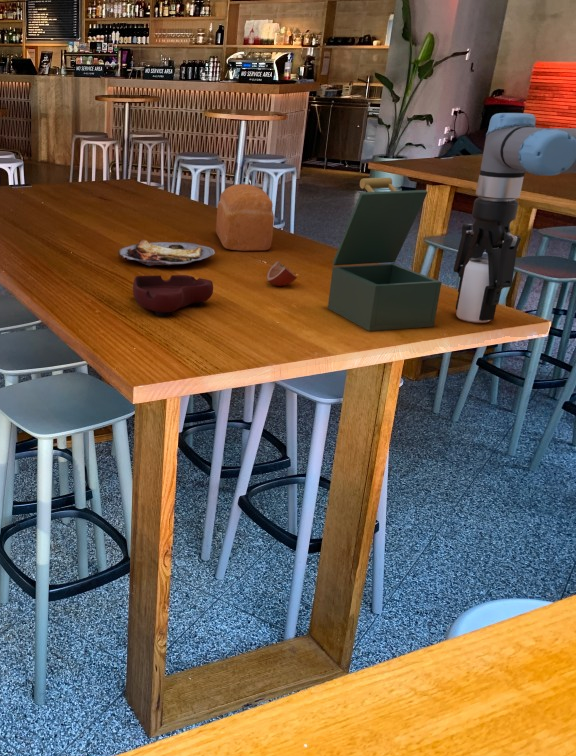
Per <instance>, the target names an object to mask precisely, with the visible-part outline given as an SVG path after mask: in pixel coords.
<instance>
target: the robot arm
mask: <svg viewBox="0 0 576 756" xmlns="http://www.w3.org/2000/svg"><path fill="white" fill-rule="evenodd" d="M525 173H529V174H533V175H535V176H537V177H538V176H539V177H540V176H547V177H550V176H551V177H552V176H557V175H560V174H576V127H573V128H570V127H567V128H566V127H565V128H564V127H563V128H561V127H560V128H556V127H554V128H550V127H549V128H548V127H536V116H535V115H534V114H532V113H525V112H523V113H522V112H499V113H494V114H493V115H492V116H491V118H490V119H489V125H488V130H487V132H486V133H485V140H484V146H483V153H482V159H481V163H480V170H479V174H478V179H477V184H476V190H475V195H476V197H477V198H475V199H474V201H473V207H472V212H471V217H472V219H475V220H474V222H473V223H464V224H462V225H461V237H460V240H459V245H458V249H457V253H456V258H455V261H454V265H453V272H454V273H457V274H458V277H459V281H458V286H457V292H458V294H457V298H456V303H455V304H456V305H455V311H457V307H458V302H459V297H460V291H461V286H462V281H463V275H464V270H465V266H466V265H467V263H468V262H469V258H474V259H477V258H479V257H483V255H484V253H486V254H487V258H488V269H489V286H486V287H485V292H484V297H483V302H482V307H481V312H480V317H479V320H481V321H483V320H490V321H493V320H494V319H495V315H496V311H497V306H498V305H499V303H500V299H501V294H502V290H503V289H504V288H505V289H506V288H511V287H512V286H513V281H514V280H513V278H514V272H515V266H516V259H517V254H518V253H517V252H518V248H519V245H520V242H521V240H522V237H521V235H514V234H513V233H511V223H512V222H513V221H515V220H516V218H517V213H518V208H519V201H518V200H516V199H519V198H520V197H521V193H522V192H521V191H522V189H523V182H524V178H525ZM496 280H497V282H496Z"/></svg>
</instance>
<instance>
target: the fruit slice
mask: <svg viewBox="0 0 576 756" xmlns="http://www.w3.org/2000/svg"><path fill="white" fill-rule="evenodd" d="M296 279H298V277H297V276H296V275H295V274H294V273H293V272H292V271H291V270H290V269H289V268H288V267H286V266H285V264H282V263H281V262H280V261H278V260H277V261H275V263H273V265H272V266H270V268H269V270H268V272H267V274H266V281H267V282H268V283H270V284H271V285H272V286H276V287H283V286H287V285H290V284H291V283H293V282H294V281H296Z"/></svg>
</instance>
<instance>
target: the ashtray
mask: <svg viewBox="0 0 576 756" xmlns="http://www.w3.org/2000/svg"><path fill="white" fill-rule="evenodd" d="M213 293H214V283H213V280H211V279H207V278H201V277H198V278H195V277H194V276H192V275H188V274H171V275H170V277H169V279H164V278H163V277H162V275H160V274H159V275H157V274H155V275H136V276H135V277H134V279H133V283H132V295H133V298H134V299H135V303H137V304H138V305H139V306H140V307H141V308H143V309H145V310H148V311H152V312H155V316H157V317H161V318H162V317H165V318H166V317H169V316H171V312H175V311H178V310H179V309H182V308H183V309H184V308H185V307H187V306H195V307H200V306H203V305H204V302H206V301H208V300H209V299H210V298H211V297H212V296H213Z"/></svg>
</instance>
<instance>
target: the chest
mask: <svg viewBox="0 0 576 756" xmlns="http://www.w3.org/2000/svg"><path fill="white" fill-rule="evenodd" d="M331 270H332V271H331V277H330V284H329V285H330V287H329V294H328V301H327V309H328V310H329V311H332V312H334V313H335V314H337V315H338V316H340V317H343V318H344V319H346V320H347V321H350V322H351V323H353V324H355V325H356V326H359V327H361V328H362V329H364V330H366V331H368V332H377V331H378V332H379V331H393V330H406V329H420V328H433V327H435V321H436V316H437V310H438V304H439V300H440V293H441V288H442V283H443V282H442V281H440V280H437V279H435V278H432V277H431V276H427V275H424V274H422V273H420V272H417V271H414V270H411V269H409V268H406V267H404V266H402V265H399V264H396V263H395V262H391V263H373V264H354V265H335V266H332V269H331Z"/></svg>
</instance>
